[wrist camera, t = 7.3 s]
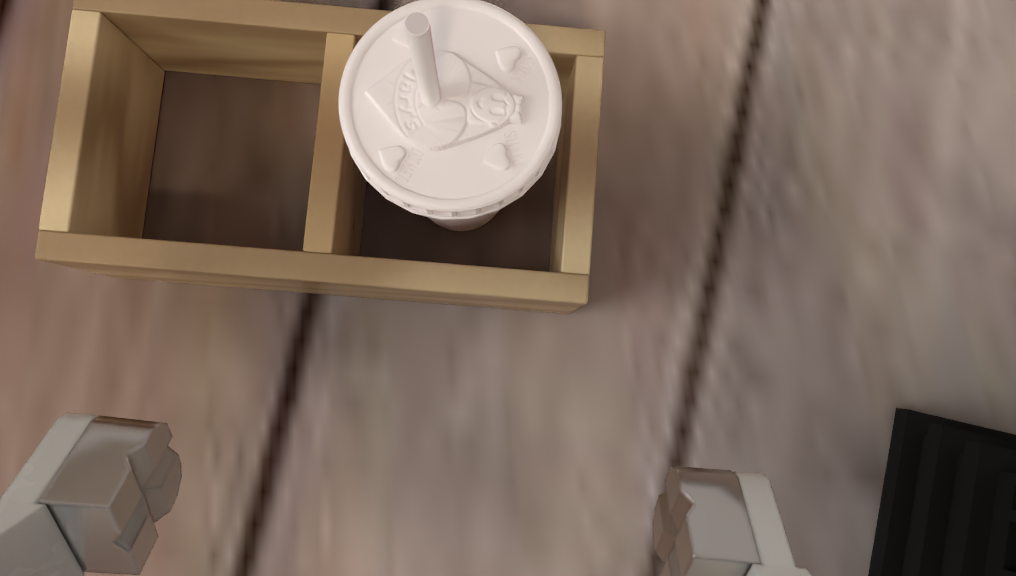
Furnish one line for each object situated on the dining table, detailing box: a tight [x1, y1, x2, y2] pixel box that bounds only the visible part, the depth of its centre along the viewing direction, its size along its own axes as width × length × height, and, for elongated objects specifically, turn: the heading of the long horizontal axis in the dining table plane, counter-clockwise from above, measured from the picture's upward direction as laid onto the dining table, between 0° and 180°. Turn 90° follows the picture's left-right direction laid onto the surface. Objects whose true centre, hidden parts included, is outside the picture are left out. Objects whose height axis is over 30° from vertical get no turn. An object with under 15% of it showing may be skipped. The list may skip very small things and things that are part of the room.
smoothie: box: [338, 0, 562, 231], centre depth 22 cm, size 6×6×14 cm
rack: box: [35, 0, 606, 314], centre depth 27 cm, size 10×19×5 cm, turn 86°
